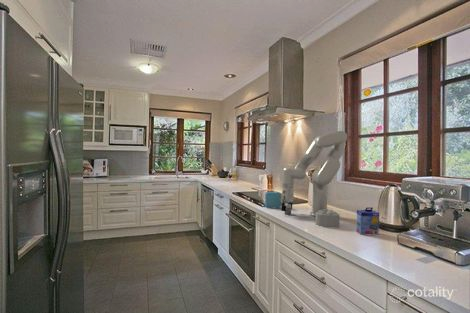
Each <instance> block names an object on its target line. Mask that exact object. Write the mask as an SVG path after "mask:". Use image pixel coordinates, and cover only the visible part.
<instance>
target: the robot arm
mask: <svg viewBox="0 0 470 313" xmlns="http://www.w3.org/2000/svg"><path fill="white" fill-rule="evenodd" d="M347 134H348V133H346V132H345V131H343V130H337V131H334V132H329V133H326V134H323V135H318V136H316V137H315V138H314V140H312V142H311V143H310V145H309V147H308V148H307V150H306V152H305V153H304V154H303V155H302V158H300V160H299V161H298V162H297V164H296V165H295V167H294V168H292V167H285V168H283V171H282V186H281V187H282V190H281V191H282V192H281V207H280V210H281V212H285V211H286V206H285V205H286V204H291V210H292V209H293V203H294V196H295V195H294V194H295V192H294V181H295V180H304V179H305V178H306V177H307V172H306V171H307V169H308V167H310V165H312V164H314V162H315V161H317V160H318V158H319V156H320V155H321V153H322V151H323V150H324V149H326V148H329V147H330V149H329V151H328V153H327V154H326V155H325V157H324V159H323V160H322V162H321V166H322V167H321V169H317V170H314V172H313V173H312V177H311V181H312V210H311V212H309V215H310V216H312V217H315V218H316V212H318V211H320V210H323V209H326V210H327V211H328V210H329V209H328V185H329V184H331V182H332V181H333V179H335V176H336V175H337V173H338V172H339V171H340V168H341V161H340V160H341V158H342V156H343V154H344V153H345V143H346V141H347V140H348V135H347ZM294 179H295V180H294Z"/></svg>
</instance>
